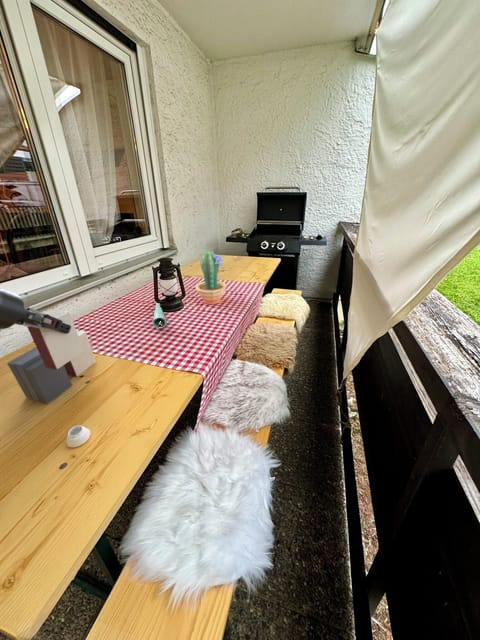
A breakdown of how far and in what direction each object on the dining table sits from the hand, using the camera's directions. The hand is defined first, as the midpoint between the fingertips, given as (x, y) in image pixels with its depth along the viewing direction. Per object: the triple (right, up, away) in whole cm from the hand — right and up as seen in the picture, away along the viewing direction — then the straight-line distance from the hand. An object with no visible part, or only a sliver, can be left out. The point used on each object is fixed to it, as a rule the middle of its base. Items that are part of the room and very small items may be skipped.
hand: (62, 328), depth 65 cm
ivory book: (0, -8, +2) cm, 8 cm away
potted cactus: (+30, +12, +68) cm, 75 cm away
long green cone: (+7, +4, +54) cm, 55 cm away
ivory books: (-9, -14, +21) cm, 27 cm away
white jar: (+6, -27, -3) cm, 27 cm away
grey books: (-12, -19, +11) cm, 25 cm away
